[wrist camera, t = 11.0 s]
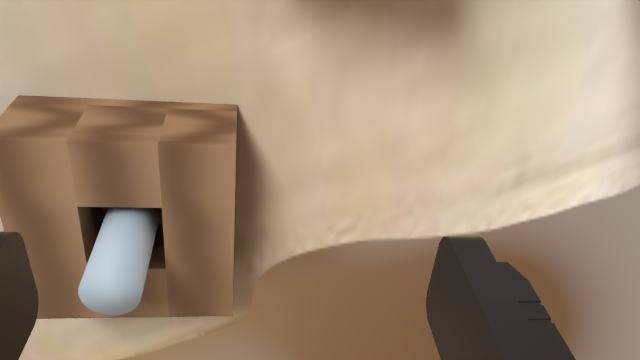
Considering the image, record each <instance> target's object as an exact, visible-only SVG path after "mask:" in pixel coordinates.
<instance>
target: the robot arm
mask: <svg viewBox="0 0 640 360" xmlns="http://www.w3.org/2000/svg"><path fill="white" fill-rule="evenodd" d="M540 302H541V301H540V299H539V298H538V296H537V294H536V292H535V291H534V289H533V287H532V286H531V284H530V283H529V281H528V280H527V279H526V278H525V277H524V276H523V275H521V274H520V273H519V272H518V271H517V270H516V269H515V268H514V267H512V266H511V265H510V264H509V263H508V262H496V260H495V258H494V256H493V255H492V253H491V251H490V249H489V248H488V245H487V244H486V242H485V240H483V238H481V237H443V238H442V239H441V241H440V243H439V247H438V251H437V255H436V259H435V263H434V267H433V271H432V275H431V279H430V283H429V287H428V291H427V298H426V310H427V318H428V322H429V325H430V328H431V331H432V334H433V337H434V340H435V343H436V346H437V349H438V352H439V355H440V358H441V360H575V358H574V356H573V355H572V353H571V351H570V350H569V348H568V346H567V345H566V343H565V341H564V340H563V338H562V336H561V335H560V333H559V331H558V329H557V328H556V326H555V324H554V323H551V318H550V316H549V314H548V313H547V311H546V309H545V308H544V306H543V305H541V304H540ZM38 305H39V298H38V291H37V287H36V284H35V280H34V276H33V273H32V269H31V265H30V262H29V258H28V254H27V251H26V247H25V243H24V240H23V238H22V236H21V234H20V233H18V232H0V360H18V359H19V357H20V355H21V353H22V351H23V349H24V347H25V344H26V342H27V340H28V338H29V336H30V334H31V332H32V330H33V327H34V325H35V322H36V319H37V314H38Z"/></svg>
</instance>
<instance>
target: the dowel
mask: <svg viewBox="0 0 640 360" xmlns="http://www.w3.org/2000/svg"><path fill="white" fill-rule="evenodd" d="M161 209H162V208H135V207H108V210H107V212H106V215H105V218H104V220H103V223H102V226H101V228H100V231H99V234H98V237H97V239H96V242H95V245H94V247H93V250H92V253H91V255H90V258H89V261H88V263H87V266H86V269H85V271H84V274H83V277H82V280H81V282H80V285H79V288H78V295H79V298H80V300H81V301H82V303H83V304H84V305H85V306H86V307H87V308H89V309H90V310H92V311H94V312H96V313H99V314H103V315H110V316H115V315H122V314H126V313H128V312H130V311H132V310H134V309H135V308H136V307H137V306H138V305H139V303H140V301H141V297H142V293H143V289H144V284H145V280H146V275H147V271H148V266H149V262H150V258H151V253H152V249H153V244H154V240H155V235H156V231H157V227H158V222H159V218H160V213H161Z"/></svg>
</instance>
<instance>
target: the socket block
mask: <svg viewBox="0 0 640 360" xmlns="http://www.w3.org/2000/svg"><path fill="white" fill-rule="evenodd" d="M236 144H237V105H226V104H203V103H180V102H157V101H134V100H111V99H88V98H65V97H42V96H18V97H17V98H16V99H15V100H14V101H13V102H12V104H11V105H10V106H9V107H8V108H7V109H6V110H5V111H4V113H3V114H2V115H1V116H0V217H1V220H2V224H3V228H4V232H18V233H20V234H21V236H22V238H23V240H24V243H25V247H26V251H27V254H28V258H29V262H30V265H31V269H32V273H33V276H34V280H35V284H36V287H37V291H38V298H39V305H38V314H37V319H51V318H118V317H185V316H233V282H234V240H235V192H236ZM108 207H135V208H162V209H161V213H160V218H159V222H158V227H157V231H156V235H155V240H154V244H153V249H152V253H151V258H150V262H149V266H148V271H147V275H146V280H145V284H144V289H143V293H142V297H141V301H140V303H139V305H138V306H137V307H136V308H135V309H134V310H132V311H130V312H128V313H126V314H122V315H115V316H110V315H103V314H99V313H96V312H94V311H92V310H90V309H89V308H87V307H86V306H85V305H84V304H83V303H82V301H81V300H80V298H79V295H78V288H79V285H80V282H81V280H82V277H83V274H84V271H85V269H86V266H87V263H88V261H89V258H90V255H91V253H92V250H93V247H94V245H95V242H96V239H97V237H98V234H99V231H100V228H101V226H102V223H103V220H104V218H105V215H106V212H107V210H108Z"/></svg>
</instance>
